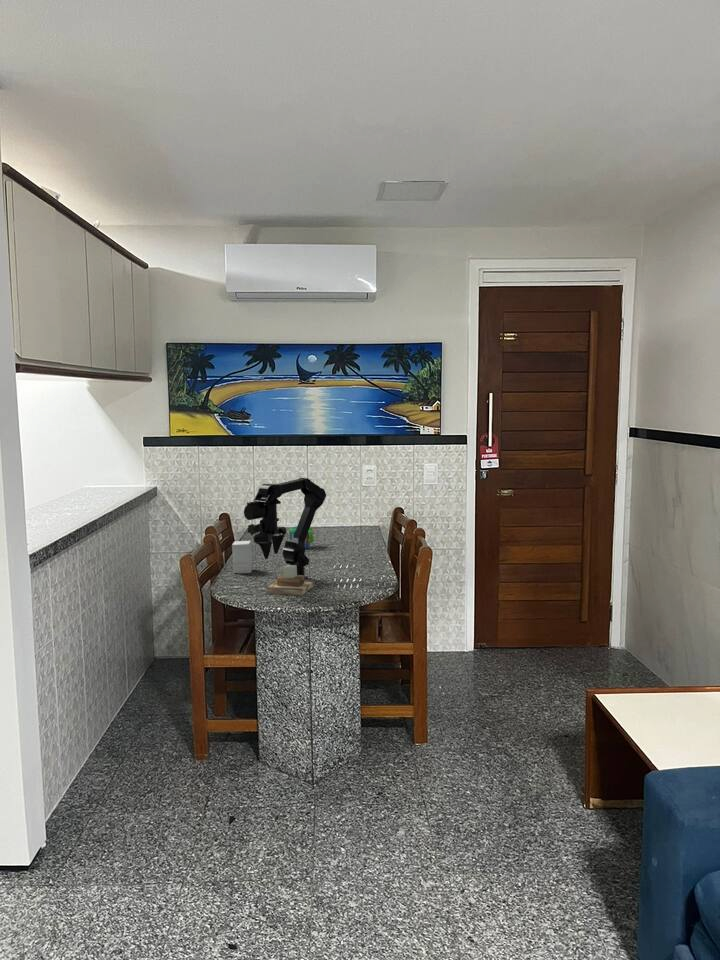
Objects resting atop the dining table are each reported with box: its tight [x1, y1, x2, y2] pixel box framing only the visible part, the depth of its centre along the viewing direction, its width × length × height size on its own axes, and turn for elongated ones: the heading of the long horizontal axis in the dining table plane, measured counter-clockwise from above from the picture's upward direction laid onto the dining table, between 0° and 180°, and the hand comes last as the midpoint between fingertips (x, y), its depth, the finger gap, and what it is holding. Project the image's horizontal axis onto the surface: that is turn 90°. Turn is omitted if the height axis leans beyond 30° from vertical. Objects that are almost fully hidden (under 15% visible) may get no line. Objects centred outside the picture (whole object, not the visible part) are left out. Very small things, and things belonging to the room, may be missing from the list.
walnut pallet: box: [276, 573, 304, 587], centre depth 273 cm, size 6×9×3 cm, turn 74°
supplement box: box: [231, 540, 253, 574], centre depth 303 cm, size 7×7×13 cm
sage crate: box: [283, 564, 297, 578], centre depth 273 cm, size 4×4×4 cm
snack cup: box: [288, 525, 315, 550], centre depth 348 cm, size 16×10×10 cm
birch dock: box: [266, 579, 315, 596], centre depth 273 cm, size 14×14×2 cm
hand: (271, 556), depth 277 cm, fingers open, 9 cm apart
